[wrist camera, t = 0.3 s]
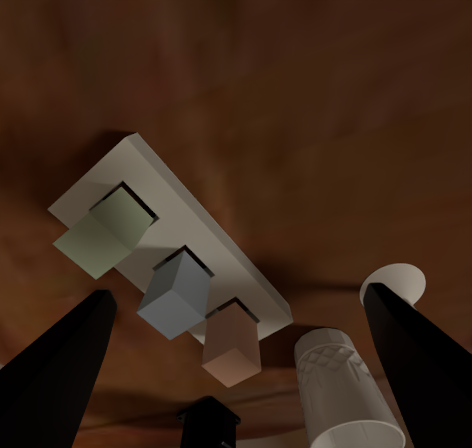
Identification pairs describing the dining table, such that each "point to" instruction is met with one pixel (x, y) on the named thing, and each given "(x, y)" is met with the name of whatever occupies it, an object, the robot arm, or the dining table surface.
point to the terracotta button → (231, 346)
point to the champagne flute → (399, 281)
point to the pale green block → (105, 234)
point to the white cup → (341, 395)
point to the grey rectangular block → (176, 296)
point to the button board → (175, 234)
